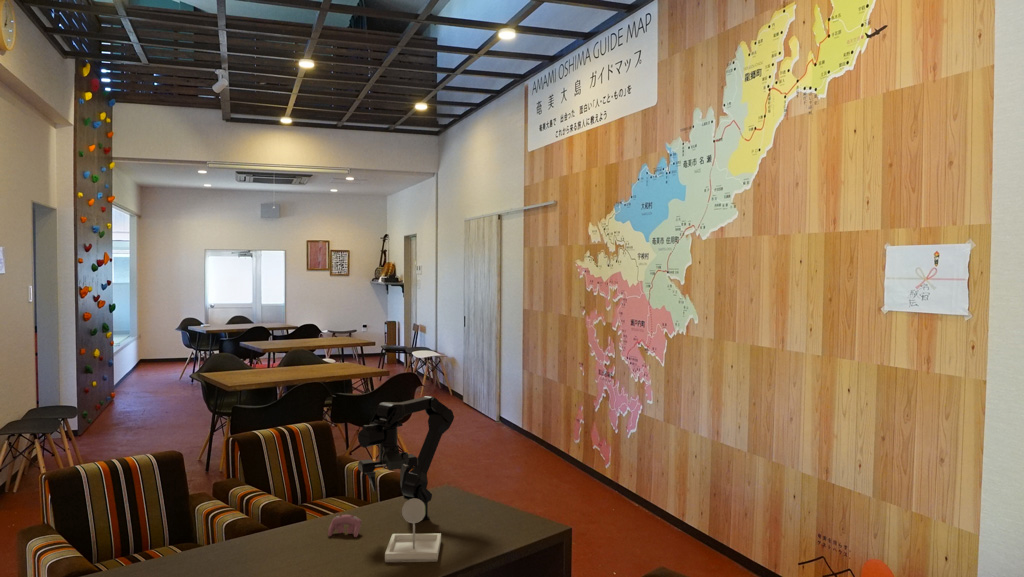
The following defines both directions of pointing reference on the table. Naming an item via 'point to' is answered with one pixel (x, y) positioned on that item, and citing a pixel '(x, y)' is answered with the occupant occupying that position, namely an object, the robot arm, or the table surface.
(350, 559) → the table surface
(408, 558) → the tray
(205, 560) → the table surface
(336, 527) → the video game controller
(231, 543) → the table surface
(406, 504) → the lollipop
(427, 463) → the robot arm
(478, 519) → the table surface
